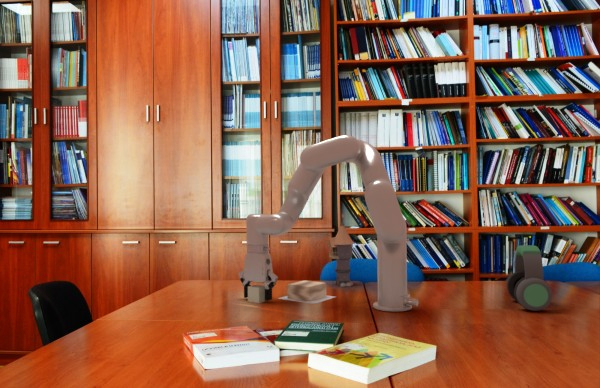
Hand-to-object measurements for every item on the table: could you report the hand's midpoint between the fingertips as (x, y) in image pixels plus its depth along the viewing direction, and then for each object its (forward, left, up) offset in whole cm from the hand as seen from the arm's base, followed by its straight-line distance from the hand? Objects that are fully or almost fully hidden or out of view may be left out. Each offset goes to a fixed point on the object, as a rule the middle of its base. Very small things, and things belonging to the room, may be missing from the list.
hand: (257, 298), depth 175 cm
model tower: (-6, -46, -2) cm, 46 cm away
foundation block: (-11, -14, -1) cm, 18 cm away
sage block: (0, 0, -2) cm, 2 cm away
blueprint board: (-11, -14, -2) cm, 18 cm away
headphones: (-78, -46, -2) cm, 91 cm away
